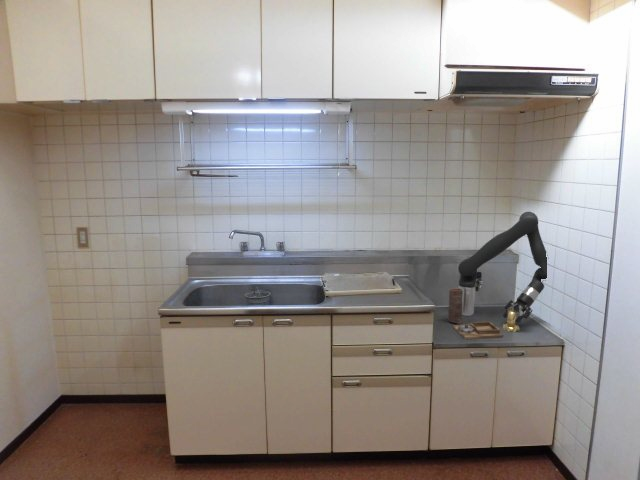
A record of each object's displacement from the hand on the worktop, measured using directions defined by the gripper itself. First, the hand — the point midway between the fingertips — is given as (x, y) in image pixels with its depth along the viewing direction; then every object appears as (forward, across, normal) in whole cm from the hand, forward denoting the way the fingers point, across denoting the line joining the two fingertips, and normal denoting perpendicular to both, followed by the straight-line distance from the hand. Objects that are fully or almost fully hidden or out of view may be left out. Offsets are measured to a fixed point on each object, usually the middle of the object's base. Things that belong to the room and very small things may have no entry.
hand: (510, 319), depth 222 cm
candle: (+19, -19, -11) cm, 29 cm away
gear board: (+17, -3, -9) cm, 20 cm away
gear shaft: (+3, 0, +5) cm, 6 cm away
